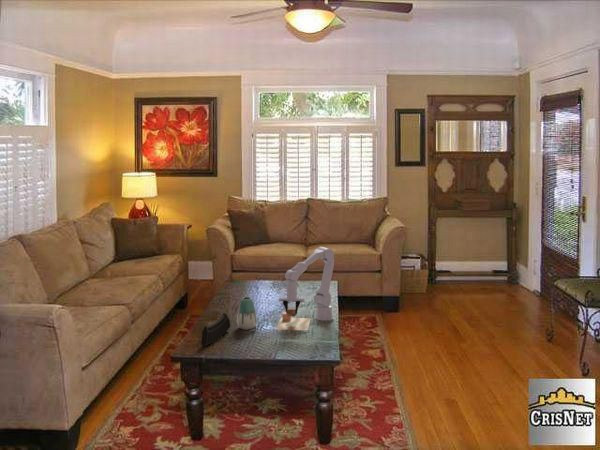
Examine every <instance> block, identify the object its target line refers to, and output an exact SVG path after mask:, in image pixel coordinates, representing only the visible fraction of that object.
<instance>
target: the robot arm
mask: <svg viewBox="0 0 600 450" xmlns="http://www.w3.org/2000/svg"><path fill="white" fill-rule="evenodd" d="M317 260H322V261H323V263H324V266H323V272H322V278H321V280H320V286H319V289H317V291H316V294H315V295H314V298H313V299H314V303H315V305H316V320H317V321H332V319H333V307H332V305H331V303H332V299H331V296H332V294H331V292H330V287H331V282H332V276H333V272H334V267H335V252H334V251H333V249H332V248H327V247H324V246H318V247H317V248H316V249H314V251H313V252H312V253H311V254H310V255H309V256H308V257H307V258H306V259H305V260H304V261H299V262H297V264H296V265H295V266H293V267H292V268H291V269H288V270H287V271H286V272H285V274H284V278H285V279H286V296H285V297H279V298H278V302H282V305H283V307H284V309H285V312H286V314H287V309H288V307H289V302H290V303H291V302H293V303H295V308H296V312H295V314H296V315H297V314H298V309H299V306H300V305H301V303H305V298H304V297H297V294H298V293H297V292H298V291H297V289H298V288H297V287H298V286H297V283H298V282H297V281H298V279H299V277H300V276H301V275H302V274H303V273H304V272H305V271H307V269H308V266H310V265H312V263H314V262H315V261H317Z"/></svg>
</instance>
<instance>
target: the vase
mask: <svg viewBox="0 0 600 450" xmlns="http://www.w3.org/2000/svg"><path fill="white" fill-rule="evenodd" d="M236 316H237V317H236V324H237V326H238V327H239V329H241V330H245V331H247V330H252V329H254V328H255V327H256V326H257V324H258V315H257V312H256V308H255V303H254V301H253V299H252V298H251V297H250V296H244V297H242V298H241V300H240V303H239V309H238V312H237V315H236Z"/></svg>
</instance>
